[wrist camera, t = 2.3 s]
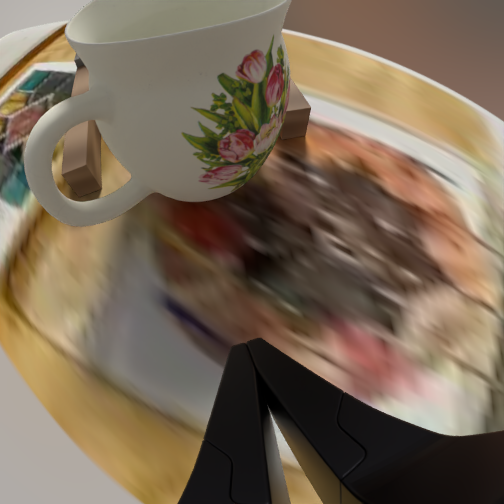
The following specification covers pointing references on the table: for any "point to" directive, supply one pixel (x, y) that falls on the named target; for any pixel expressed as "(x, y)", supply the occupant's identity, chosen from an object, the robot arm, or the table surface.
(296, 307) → the table surface
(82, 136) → the dock
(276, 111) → the pitcher
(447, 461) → the robot arm
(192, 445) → the table surface
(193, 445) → the table surface
